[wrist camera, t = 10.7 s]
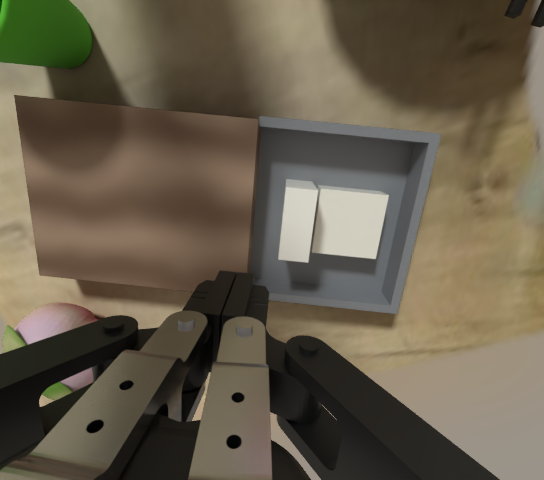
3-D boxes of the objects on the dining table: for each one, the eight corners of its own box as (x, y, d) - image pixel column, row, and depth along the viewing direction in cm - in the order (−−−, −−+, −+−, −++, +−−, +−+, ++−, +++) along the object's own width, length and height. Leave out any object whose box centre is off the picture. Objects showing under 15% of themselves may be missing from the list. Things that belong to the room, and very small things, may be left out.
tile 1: (285, 187, 24) (318, 190, 24) (286, 178, 30) (312, 181, 30) (278, 259, 26) (308, 262, 26) (279, 238, 31) (304, 241, 31)
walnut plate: (50, 101, 29) (14, 95, 25) (262, 122, 29) (258, 119, 25) (67, 260, 34) (39, 275, 30) (249, 280, 33) (244, 297, 30)
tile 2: (388, 195, 27) (380, 191, 29) (320, 188, 27) (318, 185, 30) (375, 259, 29) (368, 250, 31) (311, 252, 29) (309, 244, 31)
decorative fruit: (38, 314, 36) (-52, 376, 26) (81, 272, 34) (1, 322, 25) (100, 367, 38) (36, 442, 28) (144, 329, 36) (92, 397, 26)
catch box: (262, 119, 29) (259, 115, 25) (422, 134, 28) (441, 133, 25) (249, 282, 33) (245, 297, 30) (386, 297, 33) (397, 314, 30)
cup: (18, 82, 29) (-139, 46, 18) (11, -35, 26) (-177, -158, 15) (113, 101, 29) (14, 76, 18) (117, -14, 26) (2, -122, 16)
